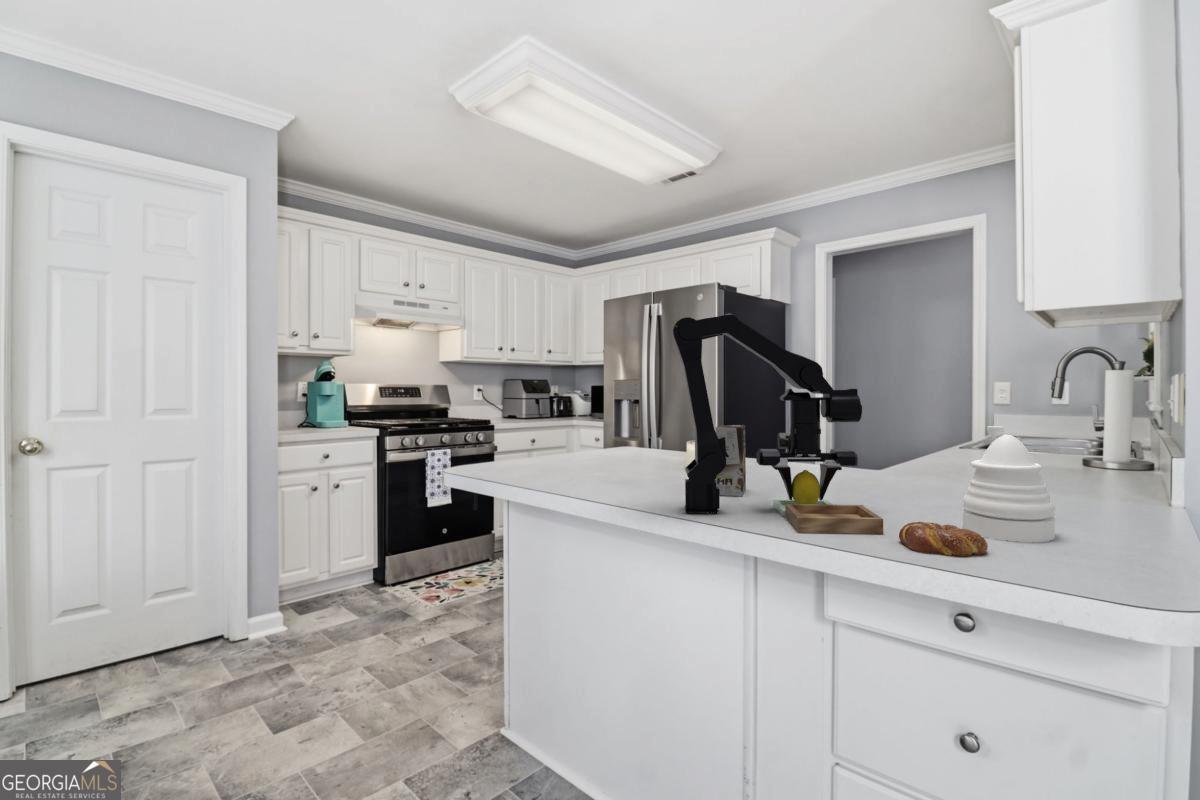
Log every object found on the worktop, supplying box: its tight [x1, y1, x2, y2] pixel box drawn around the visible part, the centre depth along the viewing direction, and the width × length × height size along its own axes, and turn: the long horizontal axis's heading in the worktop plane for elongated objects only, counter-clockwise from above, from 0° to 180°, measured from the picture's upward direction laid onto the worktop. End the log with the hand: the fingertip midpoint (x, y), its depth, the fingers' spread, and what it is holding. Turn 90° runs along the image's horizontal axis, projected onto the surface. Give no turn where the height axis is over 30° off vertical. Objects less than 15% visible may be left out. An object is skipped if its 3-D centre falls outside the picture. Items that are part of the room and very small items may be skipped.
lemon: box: [791, 469, 820, 504], centre depth 119 cm, size 6×6×8 cm
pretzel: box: [898, 521, 989, 557], centre depth 92 cm, size 12×11×4 cm
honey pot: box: [962, 425, 1056, 543], centre depth 100 cm, size 13×13×18 cm
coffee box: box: [715, 424, 747, 497], centre depth 140 cm, size 9×6×16 cm
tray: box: [785, 504, 884, 535], centre depth 107 cm, size 14×12×3 cm
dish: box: [772, 499, 833, 518], centre depth 119 cm, size 11×11×1 cm
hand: (805, 499), depth 119 cm, fingers closed on lemon, 5 cm apart
